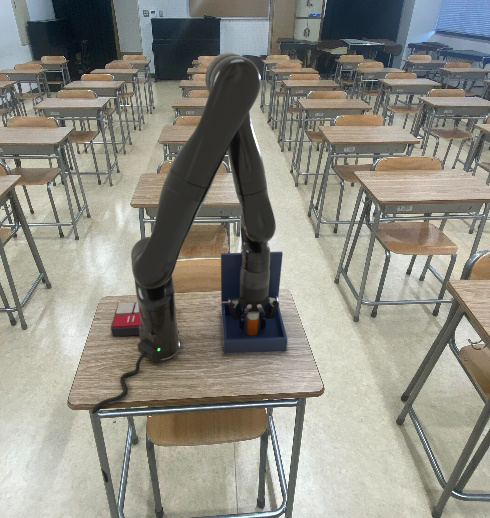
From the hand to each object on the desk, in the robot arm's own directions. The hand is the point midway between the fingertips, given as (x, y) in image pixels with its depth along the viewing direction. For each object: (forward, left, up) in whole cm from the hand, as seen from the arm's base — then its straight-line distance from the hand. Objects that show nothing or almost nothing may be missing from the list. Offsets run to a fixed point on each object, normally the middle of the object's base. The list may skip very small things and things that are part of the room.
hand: (252, 328), depth 111 cm
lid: (+5, +5, +12) cm, 14 cm away
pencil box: (0, 0, -2) cm, 2 cm away
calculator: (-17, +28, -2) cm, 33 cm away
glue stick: (0, 0, -1) cm, 1 cm away
